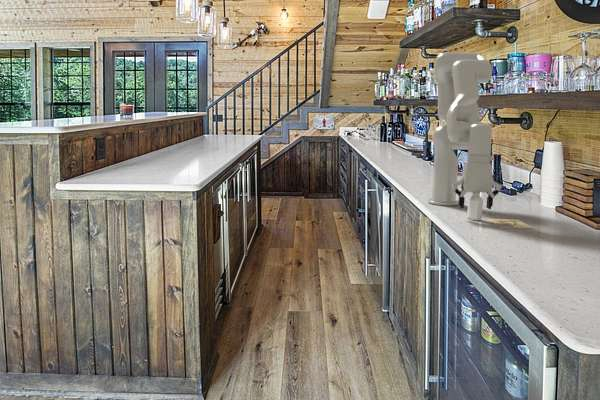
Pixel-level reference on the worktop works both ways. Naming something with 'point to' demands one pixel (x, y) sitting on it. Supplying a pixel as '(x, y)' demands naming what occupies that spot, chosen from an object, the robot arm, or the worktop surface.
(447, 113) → the robot arm
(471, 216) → the eye dropper bottle
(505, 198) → the worktop surface
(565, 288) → the worktop surface
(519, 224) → the card
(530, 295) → the worktop surface
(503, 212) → the worktop surface
